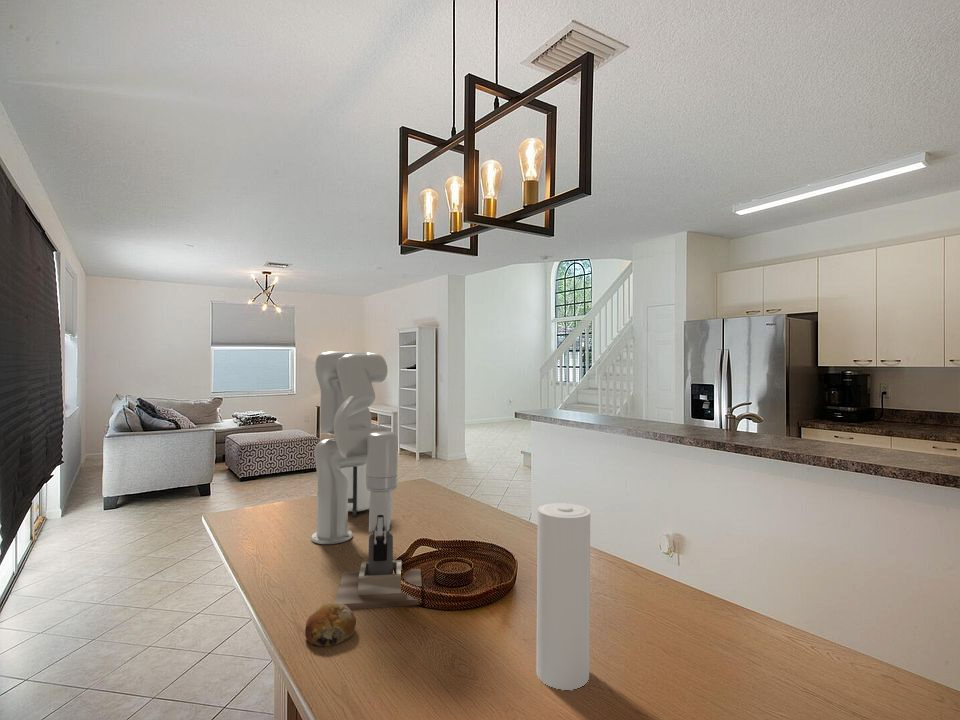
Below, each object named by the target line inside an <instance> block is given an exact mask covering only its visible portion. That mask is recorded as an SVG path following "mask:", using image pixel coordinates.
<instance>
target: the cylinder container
mask: <svg viewBox="0 0 960 720" xmlns="http://www.w3.org/2000/svg"><path fill="white" fill-rule="evenodd" d="M536 540H537V541H536V542H537V545H536V546H537V550H536V551H537V552H536V553H537V554H536V555H537V556H536V557H537V558H536V562H537V563H536V565H537V566H536V570H537V571H536V578H537V579H536V660H535V661H536V667H535V668H536V669H535V670H536V672H535V673H536V676H538V677H537V678H538V680H539V679H540V680H541V681H542V682H543V684H544V685H545V684H546V685H545V686H547V685H548V686H547V687H549V686H550V687H549V688H551V687H553V688H552V689H554V688H556V689H555V690H558V689H561V690H560V691H564V690H570V691H574V690H573V689H577V688H580V687H582V686H584V685H585V684H586V683H587V682H588V683H589V681H590V631H591V630H590V627H591V625H590V615H591V612H590V608H591V607H590V606H591V603H590V602H591V601H590V599H591V596H590V595H591V593H590V592H591V510H590V509H589V508H588V507H587V506H586V507H585V506H582V505H579V504H574V503H567V502H566V503H565V502H564V503H563V502H551V503H545V504H542V505H540V506H539V507H537V537H536ZM540 680H539V681H540ZM588 680H589V681H588ZM541 681H540V682H541ZM542 682H541V683H542ZM588 683H587V684H588ZM587 684H586V685H587ZM586 685H585V686H586ZM585 686H584V687H585ZM582 688H583V687H582ZM580 689H581V688H580ZM577 690H578V689H577Z"/></svg>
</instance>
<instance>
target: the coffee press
mask: <svg viewBox="0 0 960 720" xmlns="http://www.w3.org/2000/svg"><path fill="white" fill-rule="evenodd" d="M340 471H341V472H342V474H343V475H344V476H345V477H346V478H347V481H348V512H352V518H356V517H357V515H358V514H357V512H362V511H367V510H368V509H369V503H370V491H369V490H367V489H366V464H365V465H363V466H355V467H345V468H341V469H340Z"/></svg>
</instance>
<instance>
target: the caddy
mask: <svg viewBox="0 0 960 720" xmlns="http://www.w3.org/2000/svg"><path fill="white" fill-rule="evenodd" d="M402 563H403V562H402V559H399V560H398V559H397V560H394V559H393V568H394V569H395V570H396V574H391V575H371V576H368V567H369V561H361V564H360V569H359V571H347V572H346V571H344V572H342V576H341V579H340V583H339V586H338V588H337V592H336V596H335V600H334V602H339V603H342V604H344V605H346V606H347V607H349V608H350V610H352V609H355V610H356V609H367V608H370V609H371V608H385V607H387V608H388V607H389V608H390V607H402V606H419V605H420V604H419V603H418V600H417V599H414V598H412V597H410V596H408V595H406V594H405V593H403V592H402V591H401V570H402ZM410 569H411V570H410V571H409V572H407V573H406V574H405V576H404V577H403V578H404V580H405V581H406V582H408V583H410V584H413V585H416V586H422V587H423V585H422V583H423V582H422V573H421V572H422V569H421V568H410Z"/></svg>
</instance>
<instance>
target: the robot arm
mask: <svg viewBox="0 0 960 720" xmlns="http://www.w3.org/2000/svg"><path fill="white" fill-rule="evenodd" d="M314 367H315V375H316V377H317V379H316V380H317V381H318V385H319V389H320V413H319V414H320V415H319V416H320V417H319V420H320V421H319V422H320V429H321V431H322V433H324V434H326V435H334V437H333V438H325V439H322V440H320V441H319V442H318V443H316V445H315V447H314V451H313V452H314V461H315V462H314V463H315V468H316V531H315V532H314V533H312V534H311V537H310V539H311V541H312V543H313V542H314V544H319V545H320V544H321V545H336V544H341V543H344V542H347V541H349V540H351V539H352V538H353V532H352V530H350V529H348V526H349V525H348V523H349V522H348V520H349V516H348V514H349V511H348V481H347V478H346V477H345V476H344V475H343V474H342V472H341V471H340V469H341V468H345V467H355V466H363V465H365V464H366V489H367V490H369V491H370V503H369V508H368V509H369V512H368V515H369V516H368V533H370V534H371V533H373V532H374V529H375V540H374V547H373V560H374V561H386V560H387V543H386V533H387V532H388V531H389V527H390V525H391V521H390V520H392V519H391V518H392V509H393V505H392V504H393V491H394V490H396V489H398V451H399V450H398V449H399V447H398V442H399V441H398V435H397V433H395V432H394V431H391V430H390V429H389V428H387V427H383V426H382V427H381V426H378V427H376V426H375V427H372V414H371V410H370V408H369V407H371V405H373V403H374V402H375V400H376V392H375V389H374V385H373V383H383V382H384V381H385V380H386V379H387V376H388V371H389V370H388V364H387V362H386V360H385V358H384V357H383V356H382V355H381V354H379V353H372V352H366V351H364V352H362V351H337V350H335V351H326V352H322V353H319V354H318V356H317V357H316V360H315V366H314ZM383 516H384V519H383ZM383 528H385V531H383ZM389 532H390V531H389ZM383 534H384V536H383Z"/></svg>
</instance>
